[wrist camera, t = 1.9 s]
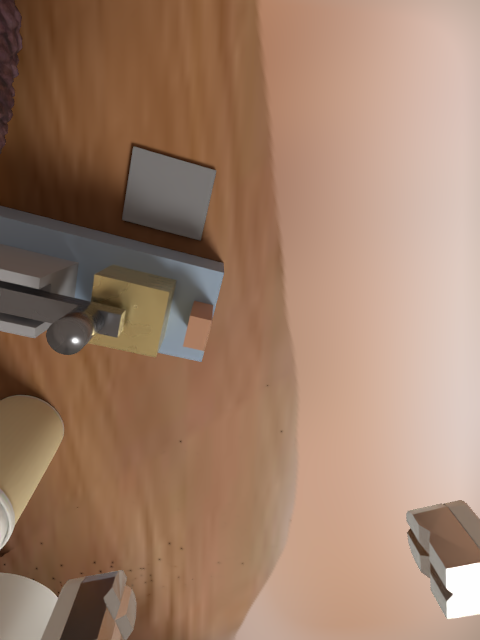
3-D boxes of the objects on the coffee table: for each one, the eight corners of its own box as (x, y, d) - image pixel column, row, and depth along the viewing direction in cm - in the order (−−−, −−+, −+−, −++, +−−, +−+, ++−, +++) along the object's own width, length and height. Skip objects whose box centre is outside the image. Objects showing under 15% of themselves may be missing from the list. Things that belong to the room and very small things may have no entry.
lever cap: (164, 337, 28) (155, 357, 24) (103, 323, 28) (85, 342, 24) (176, 280, 27) (169, 292, 23) (112, 264, 26) (94, 274, 22)
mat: (200, 240, 31) (200, 240, 30) (123, 219, 30) (121, 219, 29) (216, 171, 29) (216, 170, 29) (134, 147, 28) (133, 146, 28)
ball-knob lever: (122, 334, 23) (100, 362, 19) (-2, 306, 22) (-54, 330, 18) (126, 306, 22) (105, 329, 18) (-1, 277, 21) (-54, 294, 17)
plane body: (203, 340, 34) (197, 398, 24) (-8, 292, 31) (-120, 335, 21) (223, 263, 31) (225, 290, 21) (-4, 204, 29) (-129, 203, 18)
